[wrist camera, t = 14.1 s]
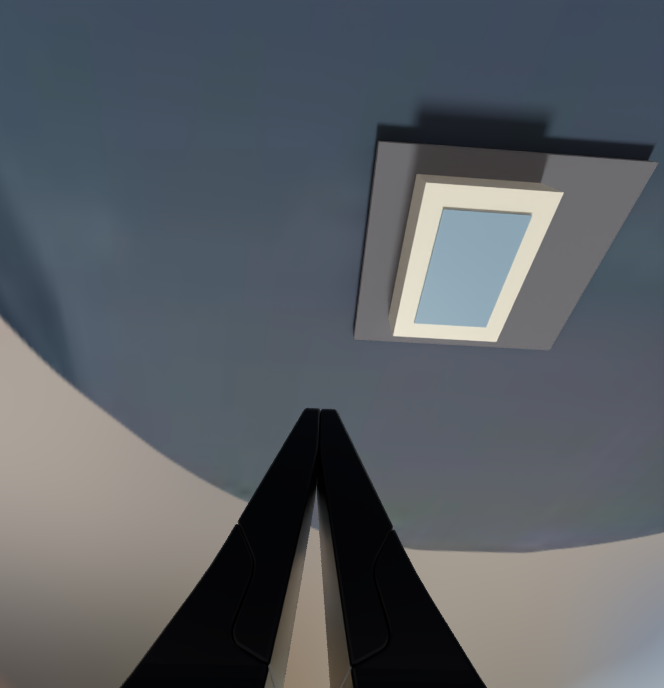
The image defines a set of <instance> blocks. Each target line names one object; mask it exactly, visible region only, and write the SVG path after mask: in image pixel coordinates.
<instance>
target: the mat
mask: <svg viewBox="0 0 664 688" xmlns="http://www.w3.org/2000/svg"><path fill="white" fill-rule="evenodd" d="M657 165H658V162H653V161H648V160H634V159H621V158H607V157H594V156H581V155H567V154H554V153H540V152H527V151H513V150H500V149H487V148H473V147H460V146H446V145H433V144H420V143H406V142H393V141H379V140H378V142H377V150H376V158H375V166H374V174H373V182H372V190H371V198H370V206H369V214H368V222H367V230H366V238H365V246H364V254H363V262H362V270H361V278H360V286H359V294H358V302H357V310H356V319H355V327H354V339H355V340H374V341H392V342H410V343H428V344H446V345H464V346H482V347H501V348H519V349H537V350H550V348H551V347H552V345H553V343H554V342H555V340H556V338H557V336H558V335H559V333H560V331H561V330H562V328H563V326H564V324H565V323H566V321H567V319H568V317H569V316H570V314H571V312H572V311H573V309H574V307H575V305H576V304H577V302H578V300H579V299H580V297H581V295H582V293H583V292H584V290H585V288H586V287H587V285H588V283H589V281H590V280H591V278H592V276H593V275H594V273H595V271H596V269H597V268H598V266H599V264H600V263H601V261H602V259H603V257H604V256H605V254H606V252H607V250H608V249H609V247H610V245H611V244H612V242H613V240H614V238H615V237H616V235H617V233H618V232H619V230H620V228H621V226H622V225H623V223H624V221H625V220H626V218H627V216H628V214H629V213H630V211H631V209H632V208H633V206H634V204H635V202H636V201H637V199H638V197H639V196H640V194H641V192H642V190H643V189H644V187H645V185H646V183H647V182H648V180H649V178H650V177H651V175H652V173H653V171H654V170H655V168H656V166H657ZM417 174H425V175H438V176H452V177H465V178H479V179H493V180H506V181H520V182H534V183H542V184H544V185H547V186H549V187H552V188H554V189H556V190H559V191H561V192H564V194H563V196H562V198H561V200H560V203H559V205H558V207H557V209H556V211H555V214H554V216H553V218H552V220H551V222H550V225H549V227H548V229H547V231H546V233H545V236H544V238H543V240H542V242H541V244H540V247H539V249H538V251H537V253H536V256H535V258H534V260H533V262H532V264H531V267H530V269H529V271H528V273H527V275H526V278H525V280H524V282H523V284H522V286H521V289H520V291H519V293H518V295H517V297H516V300H515V302H514V304H513V306H512V309H511V311H510V313H509V315H508V317H507V320H506V322H505V324H504V326H503V328H502V331H501V333H500V335H499V337H498V339H497V342H488V341H470V340H453V339H435V338H418V337H400V336H393V334H392V330H391V326H390V322H389V318H388V317H389V312H390V307H391V302H392V296H393V291H394V286H395V281H396V276H397V271H398V266H399V261H400V256H401V251H402V246H403V241H404V235H405V230H406V225H407V220H408V215H409V210H410V205H411V200H412V195H413V190H414V185H415V180H416V175H417Z"/></svg>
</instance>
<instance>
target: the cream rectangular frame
mask: <svg viewBox="0 0 664 688" xmlns="http://www.w3.org/2000/svg"><path fill="white" fill-rule="evenodd" d="M563 194H564V192H561V191H559V190H556V189H554V188H552V187H549V186H547V185H544V184H542V183H534V182H520V181H506V180H493V179H479V178H465V177H452V176H438V175H425V174H417V175H416V180H415V185H414V190H413V195H412V200H411V205H410V210H409V215H408V220H407V225H406V230H405V235H404V241H403V246H402V251H401V256H400V261H399V266H398V271H397V276H396V281H395V286H394V291H393V296H392V302H391V307H390V312H389V317H388V318H389V322H390V326H391V330H392V334H393V336H400V337H418V338H435V339H453V340H470V341H488V342H497V339H498V337H499V335H500V333H501V331H502V328H503V326H504V324H505V322H506V320H507V317H508V315H509V313H510V311H511V309H512V306H513V304H514V302H515V300H516V297H517V295H518V293H519V291H520V289H521V286H522V284H523V282H524V280H525V278H526V275H527V273H528V271H529V269H530V267H531V264H532V262H533V260H534V258H535V256H536V253H537V251H538V249H539V247H540V244H541V242H542V240H543V238H544V236H545V233H546V231H547V229H548V227H549V225H550V222H551V220H552V218H553V216H554V214H555V211H556V209H557V207H558V205H559V203H560V200H561V198H562V196H563Z"/></svg>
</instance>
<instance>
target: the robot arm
mask: <svg viewBox="0 0 664 688" xmlns="http://www.w3.org/2000/svg"><path fill="white" fill-rule="evenodd" d="M317 470H318V471H317ZM316 486H317V505H318V520H319V534H320V548H321V562H322V577H323V591H324V604H325V620H326V634H327V648H328V663H329V677H330V688H487V687H486V685H485V684H484V682H483V681H482V679H481V678H480V676H479V675H478V673H477V672H476V670H475V668H474V667H473V665H472V663H471V662H470V660H469V659H468V657H467V655H466V654H465V652H464V650H463V649H462V647H461V646H460V644H459V642H458V641H457V639H456V637H455V636H454V634H453V633H452V631H451V629H450V628H449V626H448V625H447V623H446V622H445V620H444V618H443V617H442V615H441V613H440V612H439V610H438V608H437V607H436V605H435V604H434V602H433V600H432V598H431V597H430V595H429V594H428V592H427V590H426V588H425V587H424V585H423V583H422V582H421V580H420V578H419V576H418V575H417V573H416V571H415V569H414V567H413V565H412V563H411V562H410V559H409V558H408V556H407V554H406V552H405V550H404V548H403V546H402V544H401V542H400V540H399V538H398V536H397V533H396V531H395V530H392V529H393V526H392V524H391V521H390V519H389V517H388V515H387V513H386V511H385V509H384V507H383V505H382V503H381V501H380V499H379V497H378V495H377V493H376V490H375V488H374V486H373V484H372V482H371V480H370V478H369V476H368V474H367V472H366V470H365V468H364V466H363V464H362V462H361V459H360V457H359V455H358V453H357V451H356V449H355V447H354V445H353V443H352V441H351V439H350V437H349V435H348V433H347V431H346V428H345V426H344V424H343V422H342V420H341V418H340V416H339V414H338V412H337V411H336V410H335V409H322V410H321V414H320V409H318V408H306V409H305V410H304V411H303V412H302V414H301V416H300V417H299V419H298V421H297V422H296V424H295V426H294V428H293V429H292V431H291V433H290V434H289V436H288V438H287V439H286V441H285V443H284V444H283V446H282V448H281V449H280V451H279V453H278V454H277V456H276V458H275V459H274V461H273V463H272V464H271V466H270V468H269V470H268V471H267V473H266V475H265V476H264V478H263V480H262V481H261V483H260V485H259V486H258V488H257V490H256V491H255V493H254V495H253V496H252V498H251V500H250V501H249V503H248V505H247V506H246V508H245V510H244V512H243V513H242V515H241V517H240V518H239V520H238V524H236V525H235V527H234V528H233V530H232V531H231V533H230V535H229V536H228V538H227V540H226V541H225V543H224V545H223V546H222V548H221V550H220V551H219V553H218V554H217V556H216V557H215V559H214V560H213V562H212V563H211V565H210V567H209V568H208V569H207V571H206V572H205V574H204V575H203V577H202V578H201V580H200V581H199V582H198V584H197V585H196V586H195V588H194V589H193V591H192V592H191V593H190V595H189V596H188V598H187V599H186V600H185V602H184V603H183V604H182V606H181V607H180V608H179V610H178V611H177V612H176V614H175V615H174V616H173V618H172V619H171V620H170V622H169V623H168V624H167V626H166V627H165V628H164V630H163V631H162V633H161V634H160V635H159V637H158V638H157V640H156V641H155V642H154V643H153V645H152V646H151V647H150V649H149V650H148V651H147V653H146V654H145V655H144V657H143V658H142V660H141V661H140V662H139V663H138V665H137V666H136V667H135V669H134V670H133V671H132V673H131V674H130V675H129V676H128V678H127V679H126V680H125V681H124V683H123V684H122V685H121V686H120V687H119V688H283V685H284V679H285V674H286V668H287V662H288V656H289V650H290V644H291V638H292V632H293V626H294V620H295V614H296V608H297V603H298V597H299V591H300V585H301V579H302V573H303V567H304V561H305V555H306V549H307V544H308V538H309V532H310V526H311V520H312V514H313V508H314V502H315V495H316Z"/></svg>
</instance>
